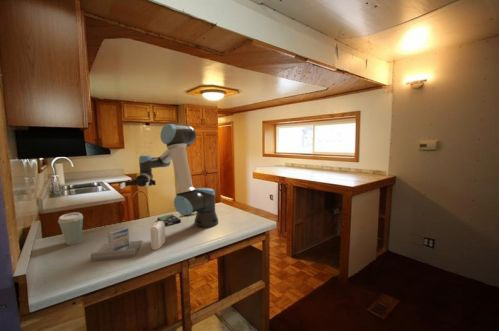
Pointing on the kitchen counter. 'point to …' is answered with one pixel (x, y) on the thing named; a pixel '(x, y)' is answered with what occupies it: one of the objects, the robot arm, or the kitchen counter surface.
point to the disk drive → (169, 220)
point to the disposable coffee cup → (71, 227)
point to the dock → (116, 251)
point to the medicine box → (118, 239)
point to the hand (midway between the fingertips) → (133, 186)
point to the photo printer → (157, 235)
